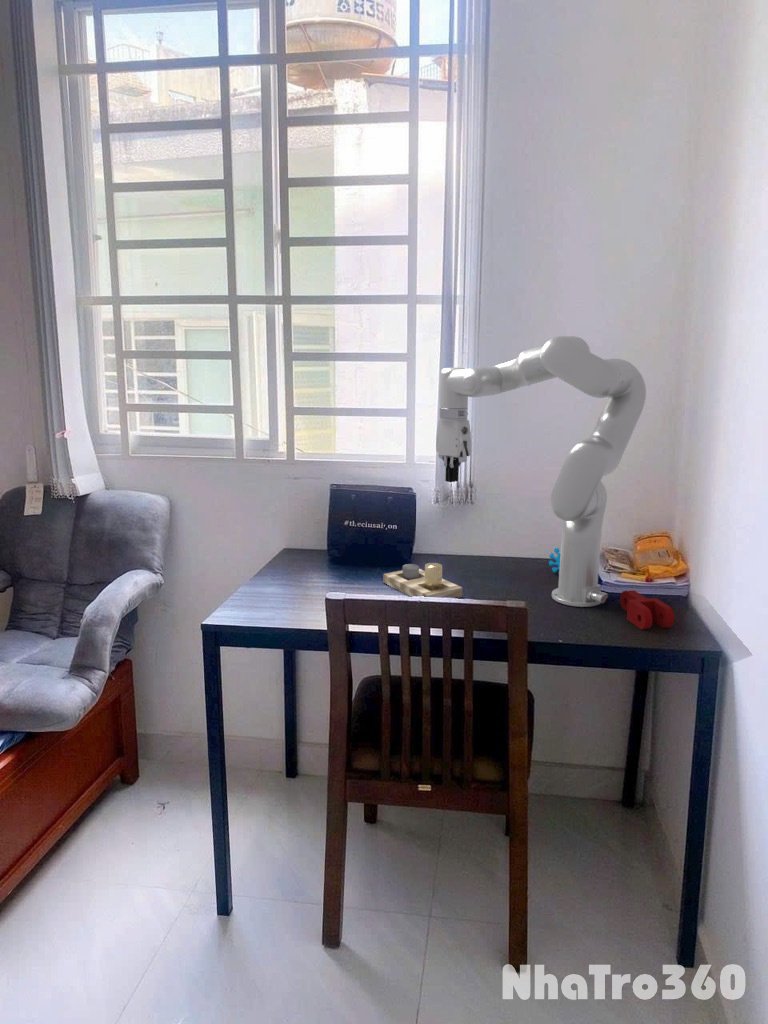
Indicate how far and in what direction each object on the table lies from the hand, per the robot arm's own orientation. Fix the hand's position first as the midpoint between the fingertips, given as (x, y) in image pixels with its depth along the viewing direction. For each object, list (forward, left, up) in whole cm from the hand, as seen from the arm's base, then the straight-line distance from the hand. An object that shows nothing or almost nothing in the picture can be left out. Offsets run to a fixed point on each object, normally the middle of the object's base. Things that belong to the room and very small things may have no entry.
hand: (451, 481), depth 202 cm
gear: (-20, -27, -26) cm, 42 cm away
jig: (-8, +16, -26) cm, 32 cm away
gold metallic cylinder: (-13, +16, -26) cm, 33 cm away
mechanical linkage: (-52, -16, -26) cm, 61 cm away
